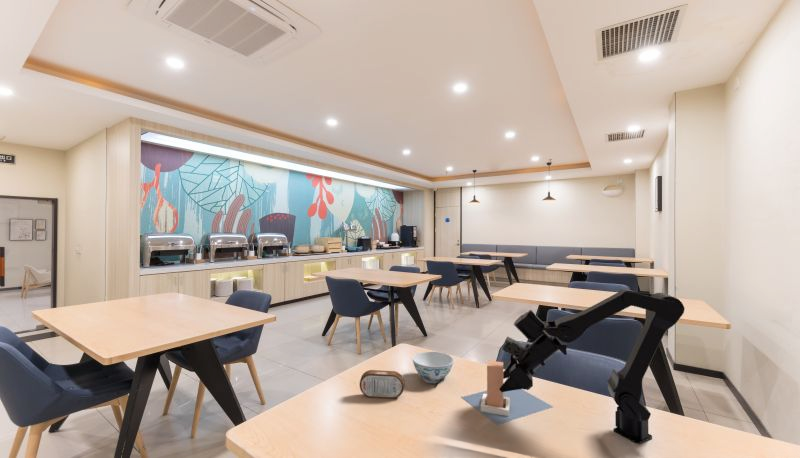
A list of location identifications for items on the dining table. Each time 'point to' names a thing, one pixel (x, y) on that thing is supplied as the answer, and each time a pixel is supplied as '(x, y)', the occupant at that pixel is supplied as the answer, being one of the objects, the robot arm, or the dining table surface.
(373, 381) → the tin
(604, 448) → the dining table surface
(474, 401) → the board
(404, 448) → the dining table surface
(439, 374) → the chinaware
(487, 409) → the snap socket
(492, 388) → the terracotta pillar
